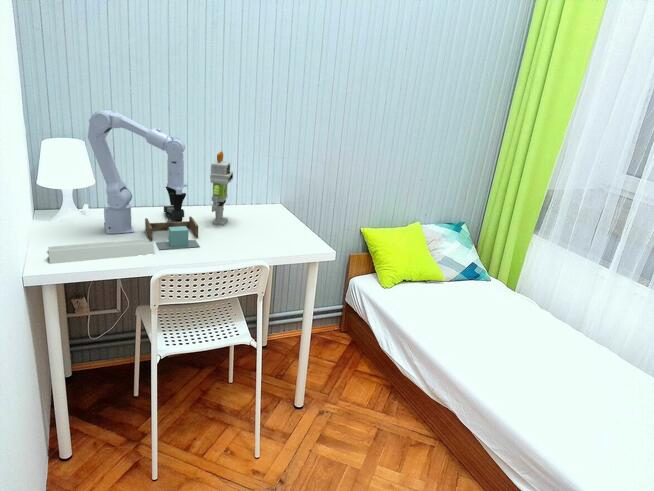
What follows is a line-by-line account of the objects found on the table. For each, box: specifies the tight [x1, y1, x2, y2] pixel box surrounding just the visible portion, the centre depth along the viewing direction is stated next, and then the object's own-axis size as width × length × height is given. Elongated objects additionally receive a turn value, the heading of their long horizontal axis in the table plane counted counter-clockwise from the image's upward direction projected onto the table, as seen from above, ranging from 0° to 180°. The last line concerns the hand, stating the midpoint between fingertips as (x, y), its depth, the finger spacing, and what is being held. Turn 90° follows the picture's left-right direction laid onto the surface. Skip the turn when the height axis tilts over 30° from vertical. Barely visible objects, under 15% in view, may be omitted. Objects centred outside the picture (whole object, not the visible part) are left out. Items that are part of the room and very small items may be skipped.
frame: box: [144, 216, 199, 242], centre depth 181 cm, size 17×12×5 cm
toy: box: [209, 150, 234, 227], centre depth 196 cm, size 16×8×30 cm, turn 179°
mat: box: [155, 239, 201, 251], centre depth 172 cm, size 14×7×1 cm, turn 118°
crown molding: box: [47, 238, 156, 265], centre depth 159 cm, size 31×12×4 cm, turn 120°
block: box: [168, 226, 189, 247], centre depth 171 cm, size 6×4×6 cm
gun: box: [163, 205, 185, 222], centre depth 197 cm, size 4×20×10 cm, turn 30°
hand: (175, 208), depth 180 cm, fingers open, 7 cm apart
